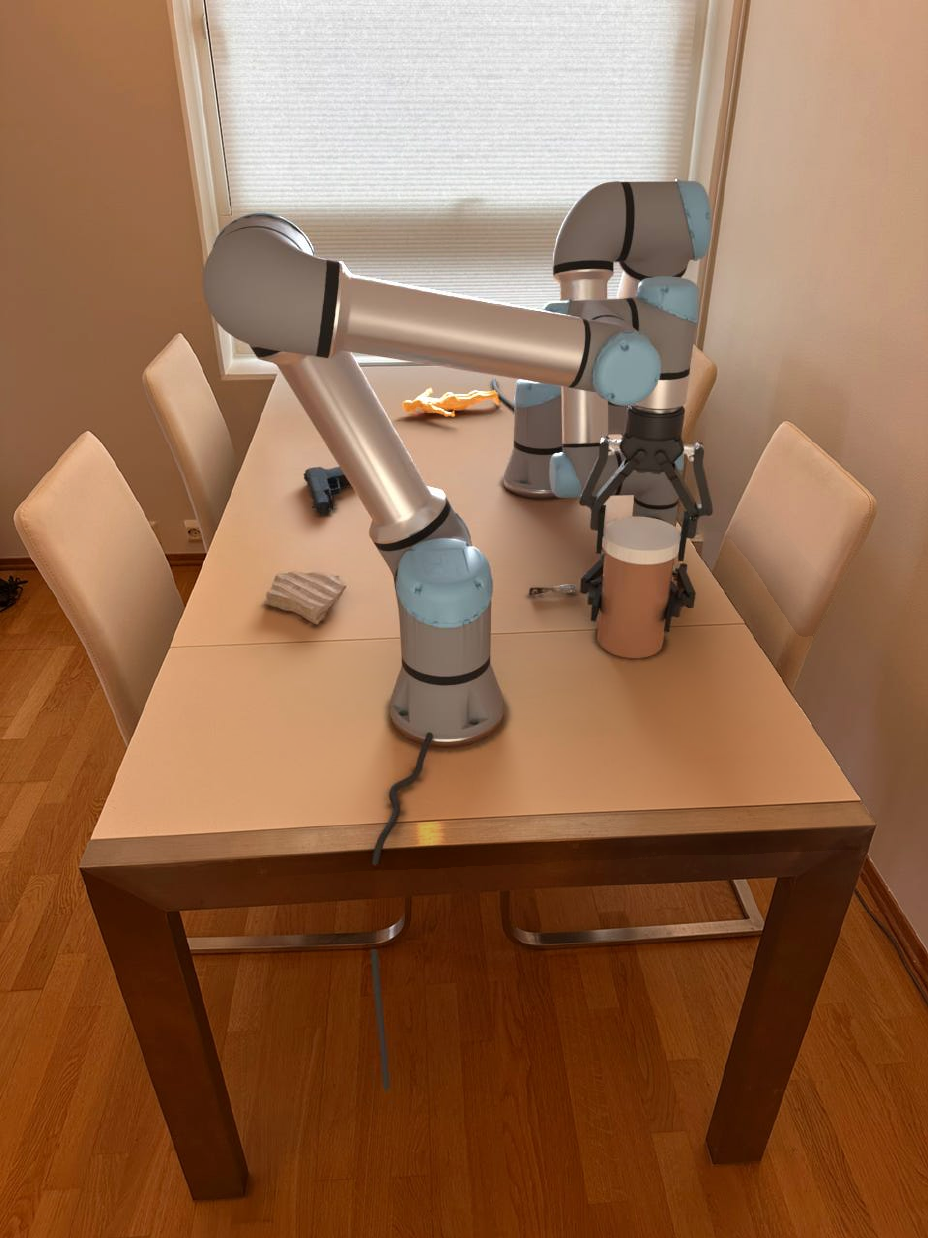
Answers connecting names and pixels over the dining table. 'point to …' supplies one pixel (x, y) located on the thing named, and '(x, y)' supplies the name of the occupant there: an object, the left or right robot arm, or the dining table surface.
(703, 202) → the right robot arm
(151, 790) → the dining table surface
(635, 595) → the jar
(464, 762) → the dining table surface
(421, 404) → the human figure
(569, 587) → the putty knife
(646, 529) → the lid
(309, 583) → the stone
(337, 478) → the handgun
